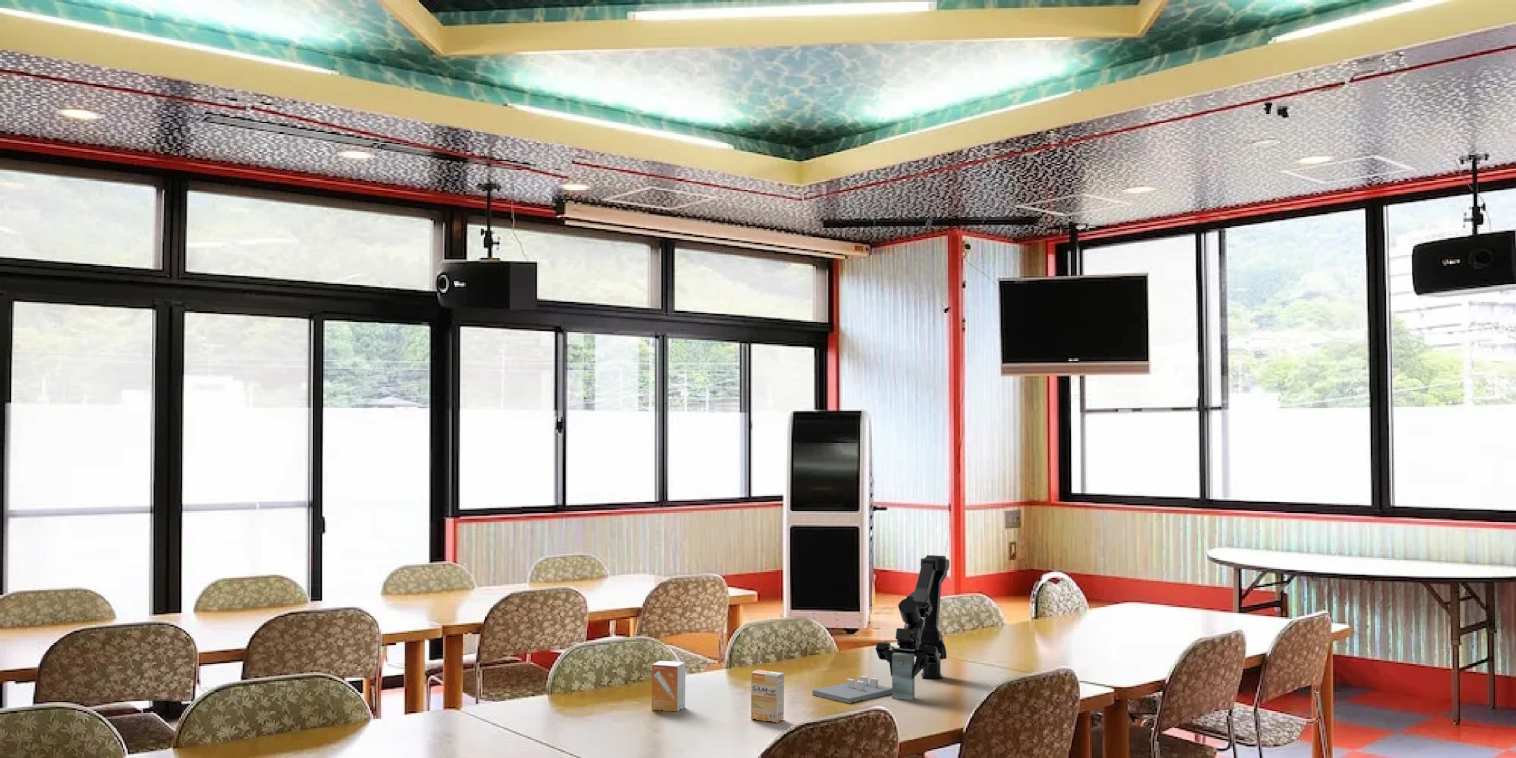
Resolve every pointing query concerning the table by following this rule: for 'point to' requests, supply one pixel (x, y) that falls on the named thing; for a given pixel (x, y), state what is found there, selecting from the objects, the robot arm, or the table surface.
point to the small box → (668, 685)
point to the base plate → (854, 690)
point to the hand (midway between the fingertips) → (901, 676)
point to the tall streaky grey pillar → (903, 676)
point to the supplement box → (767, 695)
